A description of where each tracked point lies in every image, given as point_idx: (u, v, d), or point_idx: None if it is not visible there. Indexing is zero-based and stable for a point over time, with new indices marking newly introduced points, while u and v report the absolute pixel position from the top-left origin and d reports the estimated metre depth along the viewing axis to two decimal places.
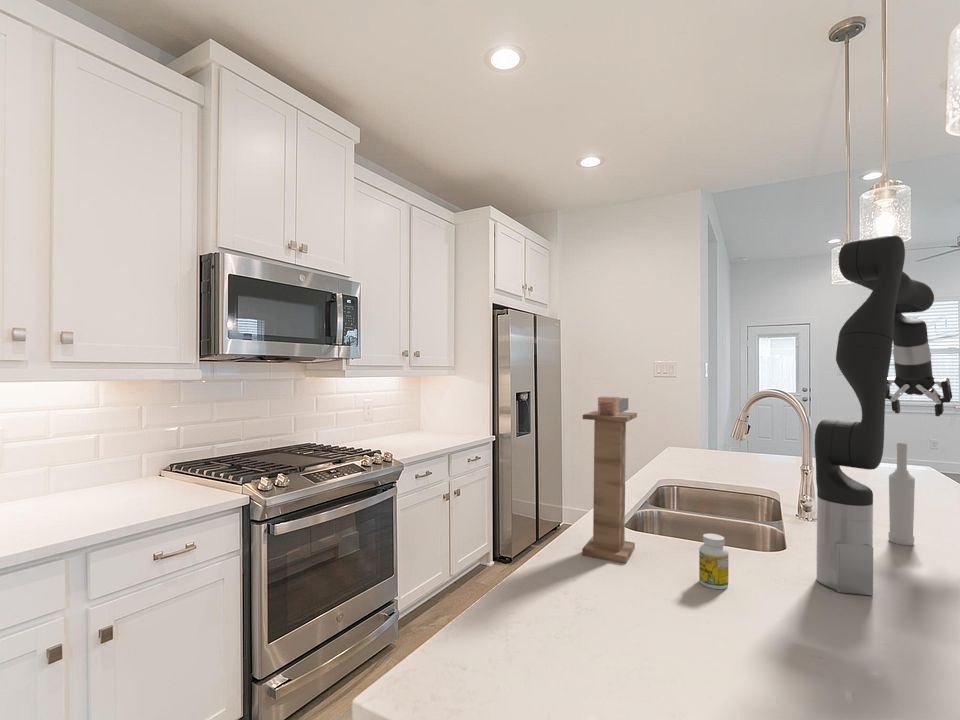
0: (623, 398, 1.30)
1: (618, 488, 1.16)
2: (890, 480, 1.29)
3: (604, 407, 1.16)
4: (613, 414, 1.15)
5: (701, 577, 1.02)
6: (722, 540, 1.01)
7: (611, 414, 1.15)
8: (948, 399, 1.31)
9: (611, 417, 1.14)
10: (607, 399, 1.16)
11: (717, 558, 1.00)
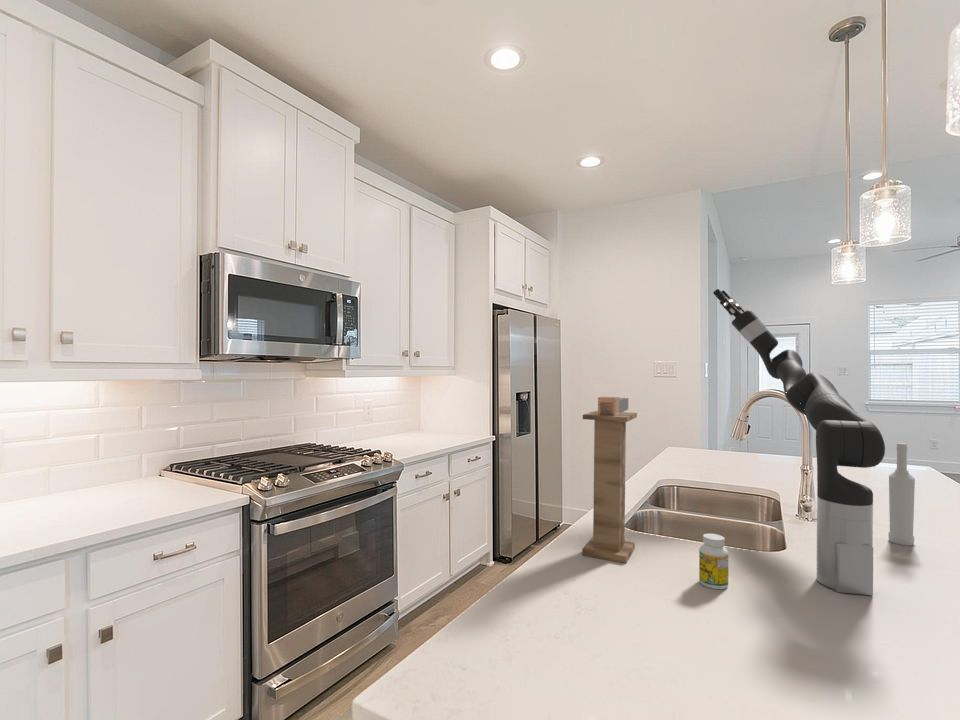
0: (623, 398, 1.30)
1: (618, 488, 1.16)
2: (890, 480, 1.29)
3: (604, 407, 1.16)
4: (613, 414, 1.15)
5: (701, 577, 1.02)
6: (722, 540, 1.01)
7: (611, 414, 1.15)
8: None
9: (611, 417, 1.14)
10: (607, 399, 1.16)
11: (717, 558, 1.00)
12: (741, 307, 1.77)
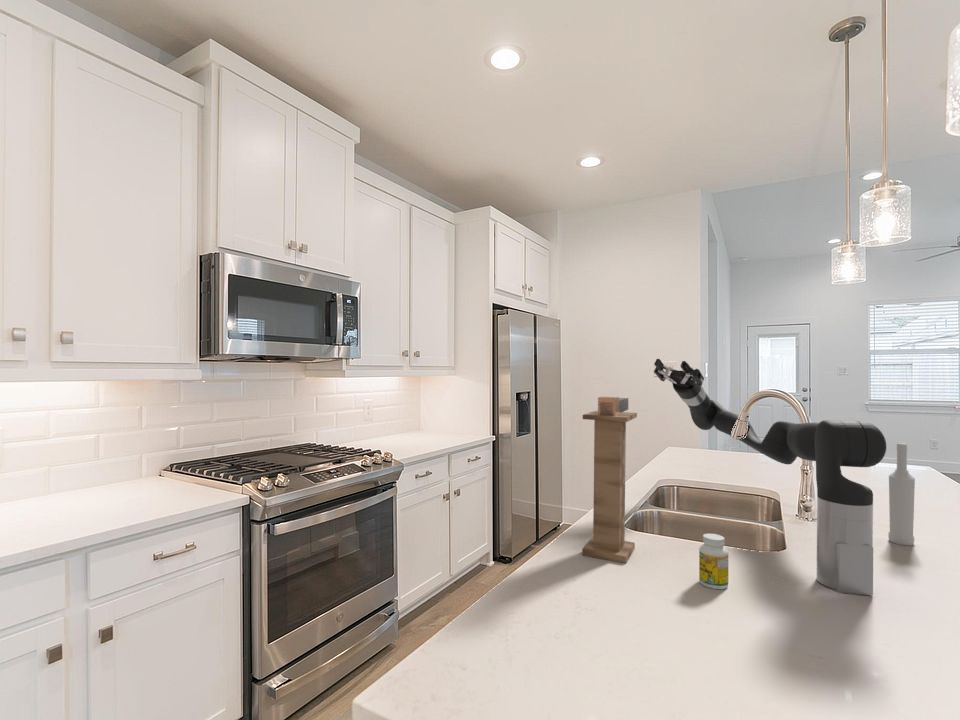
0: (623, 398, 1.30)
1: (618, 488, 1.16)
2: (890, 480, 1.29)
3: (604, 407, 1.16)
4: (613, 414, 1.15)
5: (701, 577, 1.02)
6: (722, 540, 1.01)
7: (611, 414, 1.15)
8: (655, 372, 1.63)
9: (611, 417, 1.14)
10: (607, 399, 1.16)
11: (717, 558, 1.00)
12: None
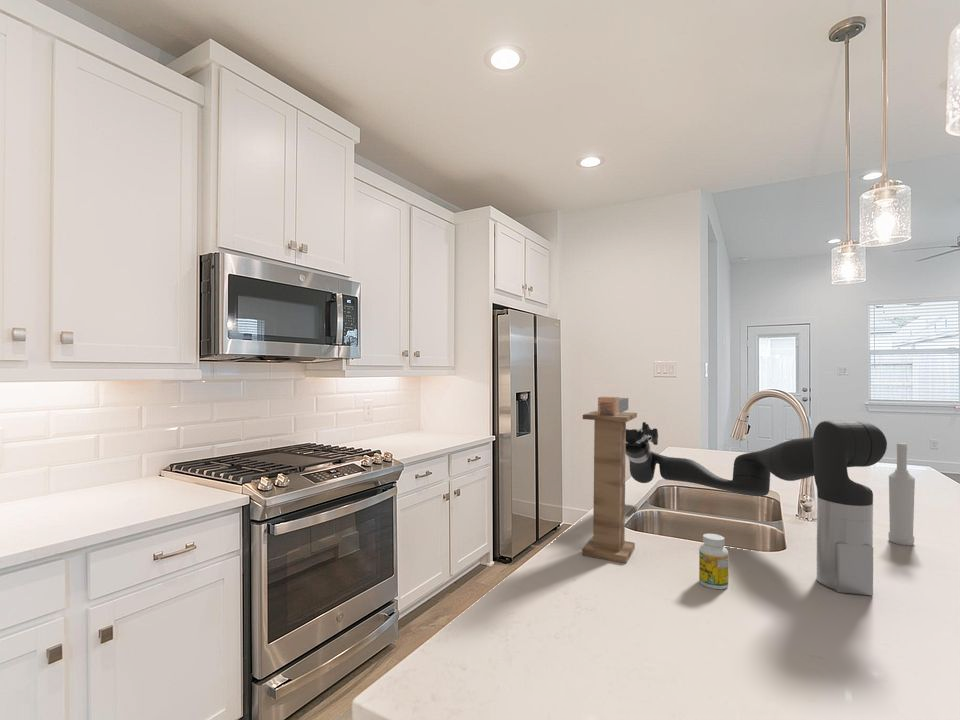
0: (623, 398, 1.30)
1: (618, 488, 1.16)
2: (890, 480, 1.29)
3: (604, 407, 1.16)
4: (613, 414, 1.15)
5: (701, 577, 1.02)
6: (722, 540, 1.01)
7: (611, 414, 1.15)
8: None
9: (611, 417, 1.14)
10: (607, 399, 1.16)
11: (717, 558, 1.00)
12: None
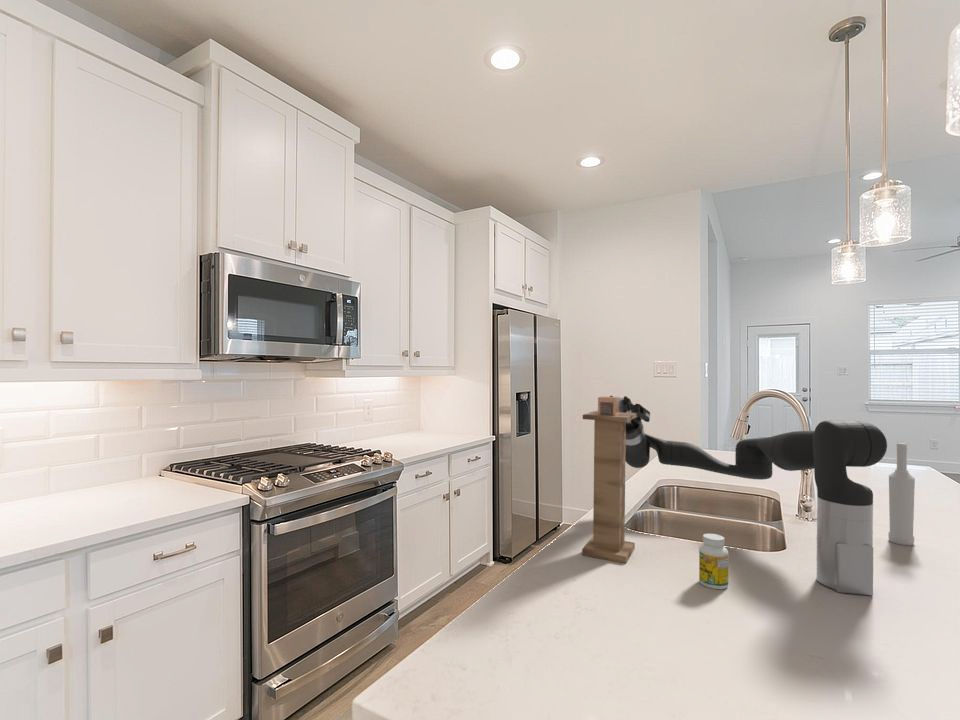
0: (623, 398, 1.30)
1: (618, 488, 1.16)
2: (890, 480, 1.29)
3: (604, 407, 1.16)
4: (613, 414, 1.15)
5: (701, 577, 1.02)
6: (722, 540, 1.01)
7: (611, 414, 1.15)
8: None
9: (611, 417, 1.14)
10: (607, 399, 1.16)
11: (717, 558, 1.00)
12: None
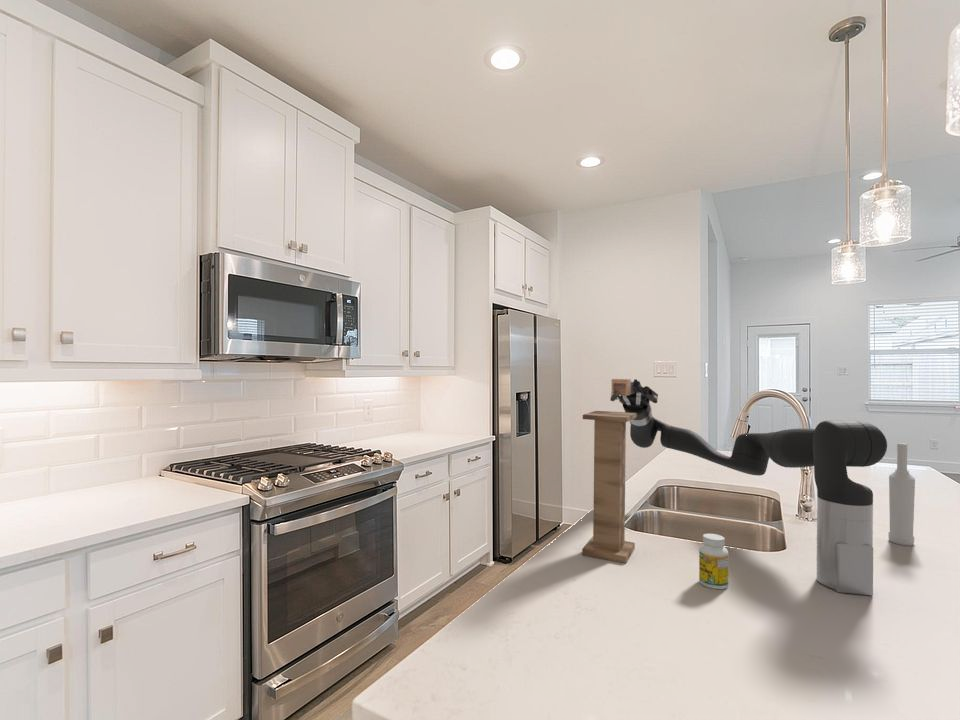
0: None
1: (618, 488, 1.16)
2: (890, 480, 1.29)
3: (617, 387, 1.29)
4: (625, 394, 1.28)
5: (701, 577, 1.02)
6: (722, 540, 1.01)
7: (624, 394, 1.28)
8: None
9: (611, 417, 1.14)
10: (620, 380, 1.28)
11: (717, 558, 1.00)
12: None
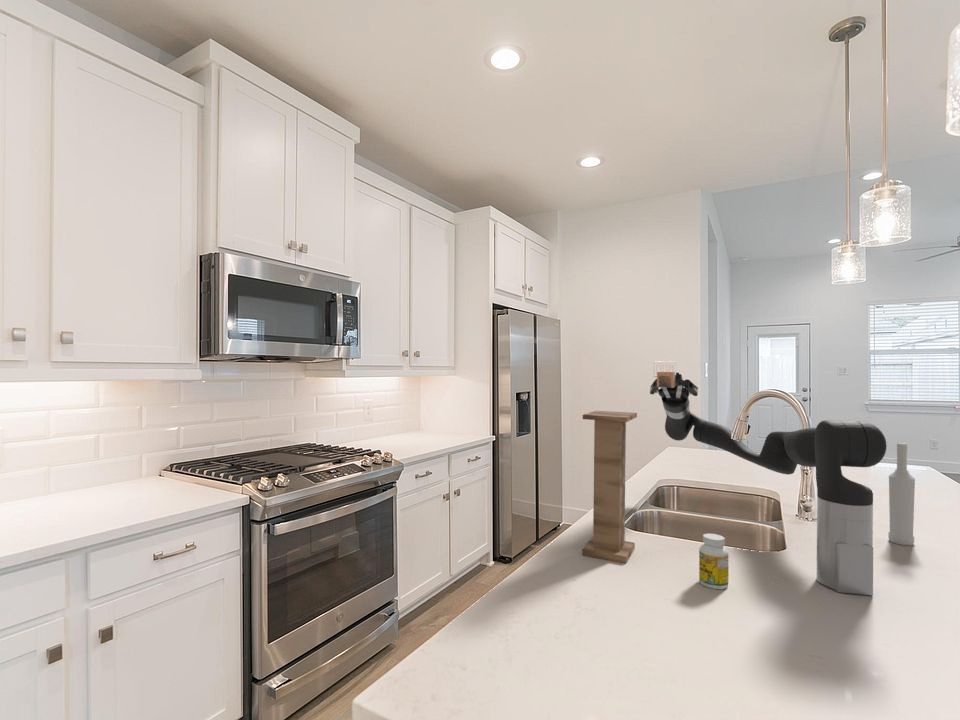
0: None
1: (618, 488, 1.16)
2: (890, 480, 1.29)
3: (663, 380, 1.31)
4: (671, 386, 1.31)
5: (701, 577, 1.02)
6: (722, 540, 1.01)
7: (669, 386, 1.31)
8: (655, 387, 1.47)
9: (611, 417, 1.14)
10: (665, 373, 1.31)
11: (717, 558, 1.00)
12: None
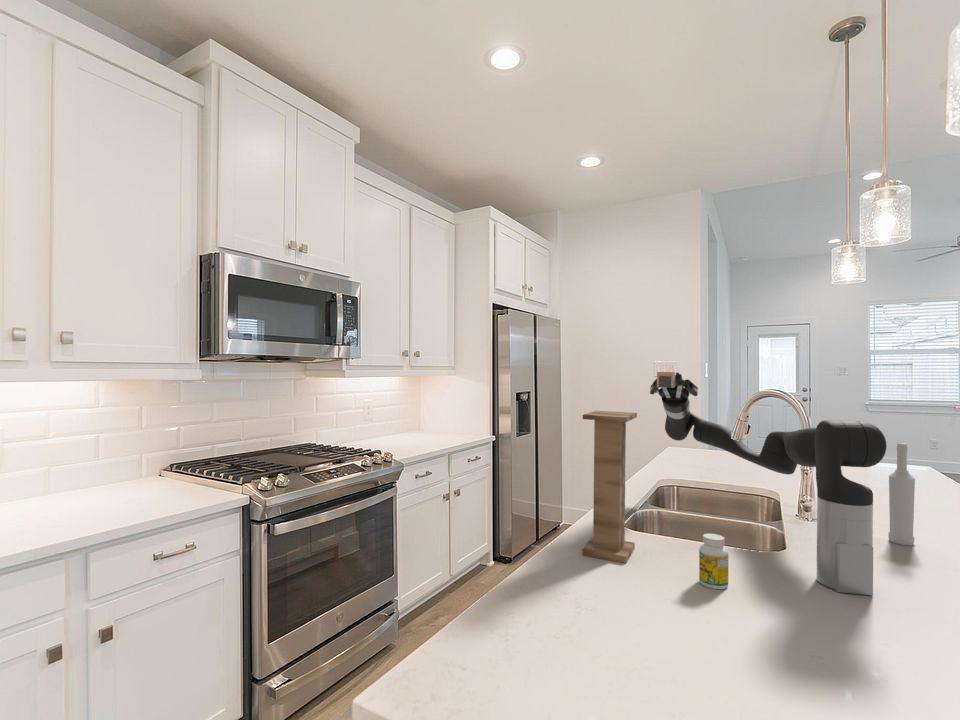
0: None
1: (618, 488, 1.16)
2: (890, 480, 1.29)
3: (663, 380, 1.31)
4: (671, 386, 1.31)
5: (701, 577, 1.02)
6: (722, 540, 1.01)
7: (669, 386, 1.31)
8: (655, 387, 1.47)
9: (611, 417, 1.14)
10: (665, 373, 1.31)
11: (717, 558, 1.00)
12: None
